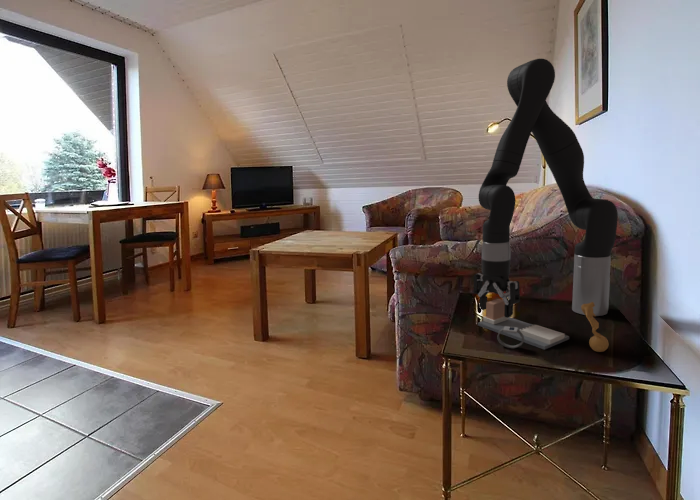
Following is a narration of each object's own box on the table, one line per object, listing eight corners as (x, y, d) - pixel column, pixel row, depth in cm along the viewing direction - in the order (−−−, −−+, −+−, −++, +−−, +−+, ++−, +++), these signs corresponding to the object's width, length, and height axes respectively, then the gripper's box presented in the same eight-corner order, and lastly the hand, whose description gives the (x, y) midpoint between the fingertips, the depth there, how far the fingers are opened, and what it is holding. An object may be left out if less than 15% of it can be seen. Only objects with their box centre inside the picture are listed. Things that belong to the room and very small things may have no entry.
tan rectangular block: (497, 316, 126) (497, 297, 125) (508, 319, 123) (508, 300, 122) (483, 320, 123) (483, 302, 122) (493, 324, 120) (494, 305, 119)
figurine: (608, 359, 98) (611, 309, 96) (578, 355, 101) (580, 306, 99) (608, 345, 105) (610, 298, 103) (580, 341, 108) (582, 295, 106)
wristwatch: (496, 347, 108) (496, 328, 107) (498, 343, 110) (498, 324, 109) (522, 351, 105) (523, 332, 104) (524, 347, 107) (524, 328, 106)
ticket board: (501, 317, 128) (501, 310, 127) (569, 339, 110) (569, 331, 109) (477, 325, 123) (477, 318, 122) (544, 349, 105) (544, 341, 104)
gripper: (526, 258, 116) (525, 316, 119) (485, 251, 127) (485, 304, 131) (508, 263, 112) (507, 322, 115) (466, 255, 124) (467, 309, 127)
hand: (495, 312), depth 123 cm, fingers open, 8 cm apart
